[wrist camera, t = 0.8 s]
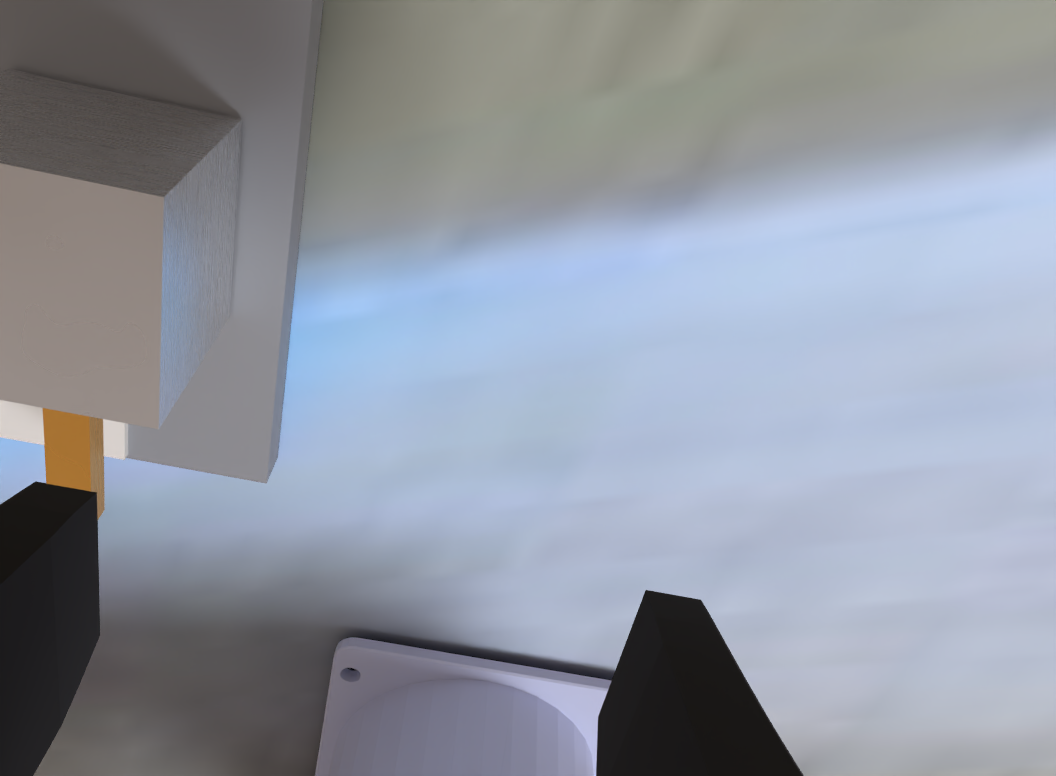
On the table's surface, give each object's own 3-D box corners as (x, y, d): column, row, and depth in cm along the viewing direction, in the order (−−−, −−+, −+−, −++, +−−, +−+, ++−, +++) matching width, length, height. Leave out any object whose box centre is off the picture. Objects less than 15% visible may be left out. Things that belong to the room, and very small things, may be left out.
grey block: (220, 459, 21) (155, 588, 17) (30, 424, 20) (-75, 548, 17) (242, 119, 17) (163, 197, 14) (8, 68, 17) (-133, 136, 13)
